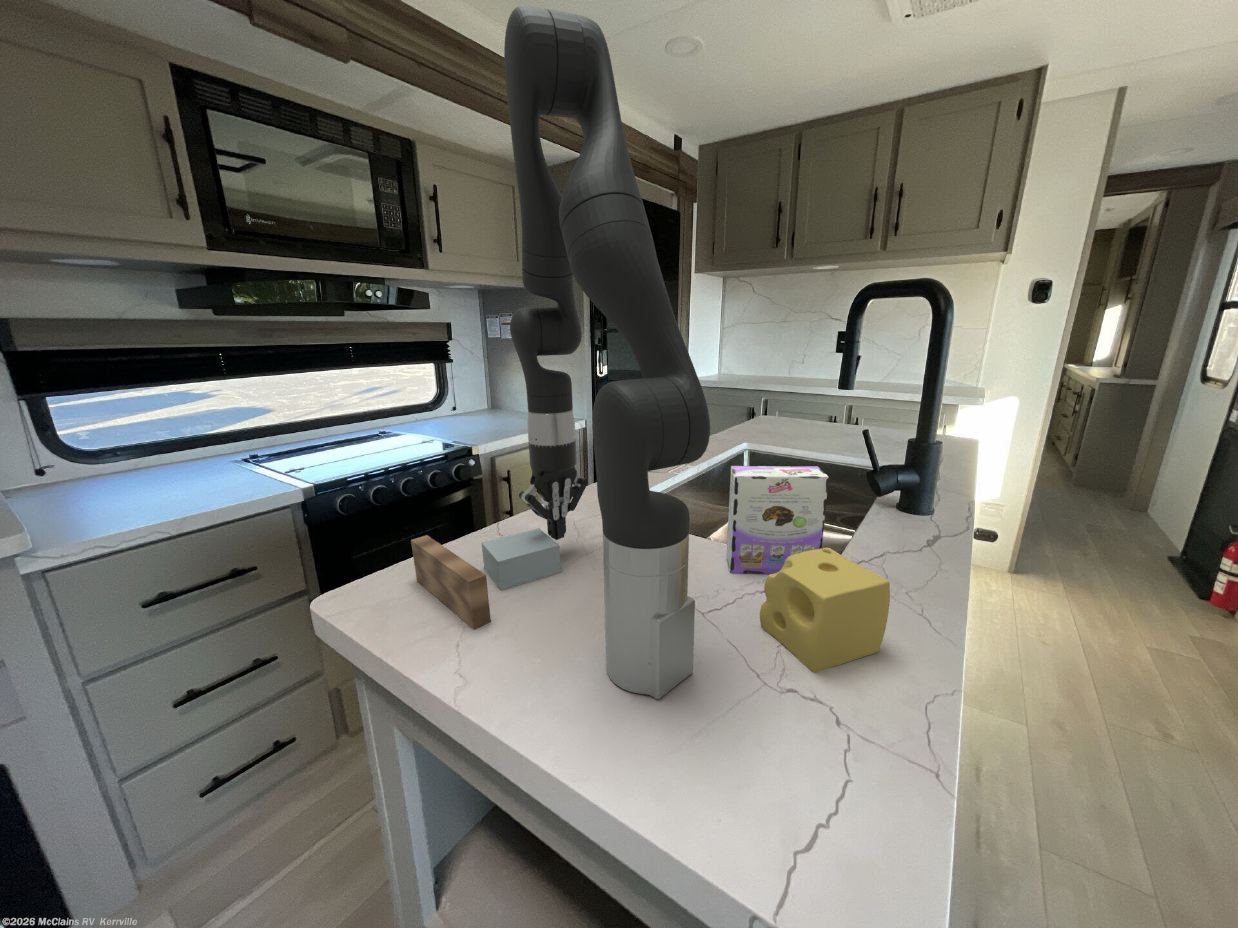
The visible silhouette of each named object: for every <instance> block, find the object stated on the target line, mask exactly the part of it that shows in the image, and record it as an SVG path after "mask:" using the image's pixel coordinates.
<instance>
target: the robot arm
mask: <svg viewBox="0 0 1238 928" xmlns="http://www.w3.org/2000/svg"><path fill="white" fill-rule="evenodd" d="M507 20H508V21H507V24H506V29H505V36H504V46H503V47H504V51H503V52H504V57H503V60H504V62H503V63H504V80H505V90H506V99H507V107H508V117H509V125H510V126H509V127H510V135H511V136H510V137H511V144H512V150H513V151H512V153H513V160H514V167H515V175H516V183H517V190H518V198H519V207H520V219H521V221H520V222H521V269H522V270H521V275H522V276H521V278H522V284H523V287H524V288H525V290H526V291H527V292H528V293H530V294H532V295H535V296H539V297H542V298H546V299H549V300H552V301H555V302H556V304H557V305H556V306H555V307H554V306H553V307H546V306H545V307H535V306H534V307H530V306H529V307H521V308H518V309H517V310H515V312H514V313H513V314H512V316H511V318H510V322H509V333H510V337H511V340H512V343H513V347H514V348H515V351H516V354H517V356H518V357H517V358H518V359H519V362H520V365H521V368H522V372H523V376H524V382H525V388H526V400H527V402H526V403H527V440H528V441H527V442H528V455H529V456H528V457H529V466H530V468H531V469H530V470H531V477H530V480H529V482H530V483H529V484H530V486H528V488H527V489H526V490H525V491H524V490H523V491H520V492H519V493H518V498H519V499H520V500H521V501H522V502H523V503H524V504H525V505H526V506H527V507H528V508H529V510H531V511H532V512H533V513H534V514H535V515H536V516H538V517H540V518H542V519H544V520H546V525H547V526H546V527H547V535H548V536H549V537H550V538H551V539H553V540H554V541H559V540H560V539H563V538H565V534H567V522H566V521H567V518H566V517H567V516H568V513H569V512H574V511H575V510H576V508H577V506H578V504H579V502H580V500H581V498H582V496H583V494H584V492H585V490H586V488H587V486H588V483H589V480H588V479H586V478H584V477H581V476H580V475H578V470H577V468H576V467H575V466H576V465H577V463H578V462H577V441H576V439H577V437H576V423H575V417H574V411H573V408H574V406H573V405H574V404H573V386H572V385H573V383H572V382H573V381H572V378H571V375H569V374H568V373H567V372H564V371H560V370H556V369H548V368H545V367H543V366H542V365H541V364H540V363H539V360H538V356H542V357H543V356H547V357H548V356H567V355H572V354H573V353H575V351H577V350H578V348H579V346H580V344H581V342H582V337H583V336H582V335H583V334H582V328H581V323H580V317H579V315H578V310H577V306H576V300H575V294H574V281H573V280H574V279H575V281H576V283H577V284H578V285H579V287H580V288H581V290H582V291H583V293H584V294H585V295H586V297H588V299H589V300H590V302H591V303H593V305H594V306H595V307H596V308H597V310H598V311H600V313H602V315H603V316H604V317H605V318H606V319H607V320H608V321H609V322H610V323H611V324H612V326H614V328H616V330H617V331H618V332H619V333H620V334H621V336H622V337H623V339H624V340H625V341H626V343H627V344H628V346H629V348H630V350H631V352H632V353H633V355H634V358H635V360H636V363H637V365H638V367H639V370H640V374H641V376H642V378H632V379H622V380H621V379H620V380H616V381H615V380H614V381H610V382H607V383H605V384H603V385H602V386H601V388H600V389H599V391H598V392H597V394H596V396H595V399H594V403H593V407H592V408H593V409H592V424H591V425H592V426H591V427H592V438H593V439H592V441H593V451H594V461H595V462H594V463H595V472H596V473H595V474H596V477H595V478H596V491H597V492H596V493H597V500H598V504H599V505H598V506H599V511H600V515H601V522H602V551H603V553H602V555H603V557H602V558H603V561H602V562H603V595H604V596H603V598H604V599H603V600H604V633H605V634H604V639H605V667H606V673H607V675H608V677H609V679H610V680H611V681H612V682H613V683H614V684H615V685H616V686H617V687H619V688H621V689H623V690H625V691H627V692H629V693H630V692H631V693H634V694H641V695H649V696H651V697H653V698H654V699H656V700H660V699H661V698H662V697H664V696H665V695H666V694H667V693H668V692H670V691H671V690H672V689H674V688H675V687H676V686H678V685H679V684H680V683H681V682H682V681H684V680H685V679H686V678H688V677H690V676H691V674H693V672H694V650H695V649H694V646H695V645H694V642H695V641H694V640H695V618H696V617H695V613H696V610H695V609H696V608H695V607H696V602H695V599H694V598H692V597H691V596H688V591H689V590H688V588H689V585H688V583H689V553H690V551H689V549H690V524H691V523H690V522H691V521H690V511H689V508H688V506H687V504H686V503H685V502H684V501H683V500H681V499H680V498H677V497H676V496H674V495H671V494H667V493H663V492H659V491H655V490H650V484H649V483H650V482H649V472H651V471H652V472H653V471H657V470H663V469H668V468H673V467H676V466H682V465H688V464H690V463H694V462H696V461H698V460H699V459H701V458H702V457H703V455H704V454H705V452H707V448H708V446H709V443H710V436H711V422H710V421H711V419H710V414H709V408H708V403H707V400H706V399H707V398H706V396H705V394H704V390H703V387H702V383H701V382H700V379H699V377H698V375H697V371H696V369H695V366H694V364H693V361H692V358H691V356H690V353H689V351H688V349H687V345H686V343H685V341H684V338H683V336H682V332H681V330H680V327H679V325H678V322H677V319H676V317H675V316H676V315H675V314H674V310H673V306H672V304H671V301H670V297H669V295H668V294H669V293H668V289H667V287H666V285H665V280H664V277H663V274H662V271H661V266H660V264H659V261H658V255H657V252H656V246H655V242H654V237H653V235H652V231H651V227H650V223H649V219H648V216H647V213H646V210H645V205H644V202H643V198H642V196H641V195H642V194H641V192H640V189H639V186H638V182H637V179H636V175H635V171H634V169H633V168H634V167H633V165H632V161H631V160H632V159H631V156H630V152H629V149H628V145H627V142H626V136H625V133H624V132H625V131H624V128H623V121H622V117H621V111H620V110H621V109H620V105H619V98H618V93H617V88H616V82H615V76H614V71H613V66H612V60H611V56H610V51H609V48H608V44H607V43H608V42H607V41H606V37H605V35H604V33H603V30H602V29H601V27H600V25H598V23H597V22H595V21H594V20H593V19H591V18H589V17H587V16H585V15H581V14H574V13H571V12H566V11H559V10H553V9H547V8H541V7H538V6H537V7H536V6H530V5H518V6H516V7H515V8H514V9H513V10H512V11H511V13H510V15H509V17H508V19H507ZM540 116H548V117H556V118H557V117H560V118H570V119H575V120H576V121H577V122H578V123H579V125H580V128H581V130H582V135H583V143H582V147H581V151H580V153H579V156H578V158H577V160H576V163H575V165H574V167H573V169H572V171H571V173H570V175H569V177H568V180H567V182H566V185H565V187H564V190H563V192H562V194H561V192H560V191H559V189H558V188H559V187H558V186H557V184H556V182H555V179H554V178H553V176H552V173H551V170H550V169H549V166H548V163H547V161H546V158H545V154H544V152H543V147H542V142H541V140H542V139H541V134H540V133H541V132H540V131H541V130H540ZM573 277H574V279H573ZM538 495H539V496H538ZM539 497H540V499H541V500H540V501H541V503H540V501H539Z"/></svg>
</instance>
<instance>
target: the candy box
mask: <svg viewBox="0 0 1238 928" xmlns="http://www.w3.org/2000/svg"><path fill="white" fill-rule="evenodd" d="M829 480H830V476H828V474H826V473H825V472H824V471H823V470H822V469H821V468H820V467H819V466H816V465H815V466H811V465H810V466H808V465H807V466H796V465H795V466H794V465H793V466H792V465H791V466H785V465H784V466H776V465H773V466H772V465H771V466H769V465H767V466H766V465H763V466H762V465H757V466H755V465H753V466H752V465H731V466H730V480H729V484H730V485H729V501H728V502H729V503H728V504H729V505H728V521H727V537H726V538H727V539H726V540H727V543H726V561H727V565H728V570H729V573H731V574H742V575H743V574H748V575H749V574H751V575H769V574H774V573H777V572H779V571H780V570H781V569H782V567H783V565H784V563H785V560H786V558H788V557H789V556H791V555H794V554H798V553H802V552H805V551H810V550H816V549H822V548H823V541H824V540H823V539H824V529H825V520H826V508H827V497H828V490H829V489H828V487H829Z"/></svg>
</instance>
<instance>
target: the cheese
mask: <svg viewBox="0 0 1238 928" xmlns="http://www.w3.org/2000/svg"><path fill="white" fill-rule="evenodd" d="M890 583H891V582H890V581H889V580H888V579H886V578H884V577H883V576H881V575H879V574H877V573H876V572H873V571H872V570H871V569H868V568H867V567H863V566H861V565H860V564H858V563H856V562H854V561H852V560H851V559H849V558H847V557H846V556H844V555H842V554H840V553H838V552H837V551H835V550H834V549H832V548H830V547H822V549H816V550H810V551H805V552H802V553H798V554H794V555H791V556H789V557H788V558H786V560H785V563H784V565H783V567H782V569H781V570H780V571H779V572H777V573H774V574H767V576H766V578H765V581H764V587H763V588H764V589H763V592H764V594H765V598H766V599H765V600H766V601H764V602H762V604H761V606H760V610H759V622H760V627H761V628H762V629H763V630H764V631H765V632H767V633H768V634H769V635H771V636H773V637H774V638H775V639H776V640H777V641H778V642H780V643H781V644H782V645H783V646H784V647H785V648H786V649H787V650H788V651H789V652H791V653H792V654H793V655H794V656H795V657H796V658H797V659H798V660H799V661H800V662H801V663H802V664H803V665H804V666H805V667H807V668H808V669H809V670H810V671H811V672H812V673H818V672H820V671H823V670H828V669H830V668H834V667H836V666H837V667H838V666H840V665H843V664H846V663H849V662H851V661H855V660H857V659H860V658H863V657H866V656H869V655H874V654H878V653H879V652H880V649H881V646H882V642H883V639H884V637H885V634H886V633H885V632H886V628H887V625H888V624H887V622H888V616H889V610H890V605H891V604H890V602H891V592H890V591H891V587H890Z"/></svg>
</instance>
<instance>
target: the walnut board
mask: <svg viewBox="0 0 1238 928" xmlns="http://www.w3.org/2000/svg"><path fill="white" fill-rule="evenodd" d="M410 544H411V549H412V550H411V551H412V558H413V564H414V570H415V578H416V581H417V583H418V584H420V585H421V586H423V588H425V590H426V591H428V593H430V594H431V595H432V596H434V598H436V599H437V600H438V601H440V602H441V604H443V605H445V606H446V607H447V608H448V609H449V610H450V611H451V612H453V613H454V614H455V615H456V616H457V617H459V619H461V620H462V621H463V622H465V624H467V625H468V626H469V627H470V628H471V629H473V630H475V629H478V628H480V627H482V626H485V625H486V624H489V623H491V622H492V620H491V611H490V601H489V599H490V598H489V591H488V589H489V587H488V581H487V580H488V579H487V574H485V573H484V572H482V571H481V570H479V569H478V568H477V567H475V566H473V565H472V564H471V563H469V562H468V561H466V560H465V559H463V558H461V557H460V556H459V555H457V554H455V553H454V552H453V551H451V550H450V549H448V548H447V547H445V546H444V545H442V544H441V543H440V542H438V541H436V540H435V539H433V538H432V537H431V536H430V535H428V534H426V535H423V536H420V537H416V538H412V539H411V540H410Z"/></svg>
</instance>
